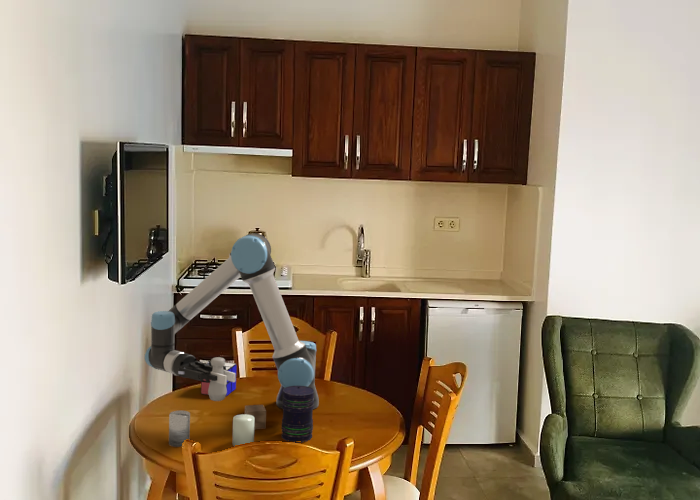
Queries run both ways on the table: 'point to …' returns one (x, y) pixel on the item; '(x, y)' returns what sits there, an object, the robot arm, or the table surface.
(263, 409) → the walnut block
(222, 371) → the salt shaker
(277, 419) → the table surface
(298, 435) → the storage jar
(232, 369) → the puzzle cube
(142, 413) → the table surface
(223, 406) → the table surface
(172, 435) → the grey tin
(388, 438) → the table surface
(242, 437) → the pale mint canister
